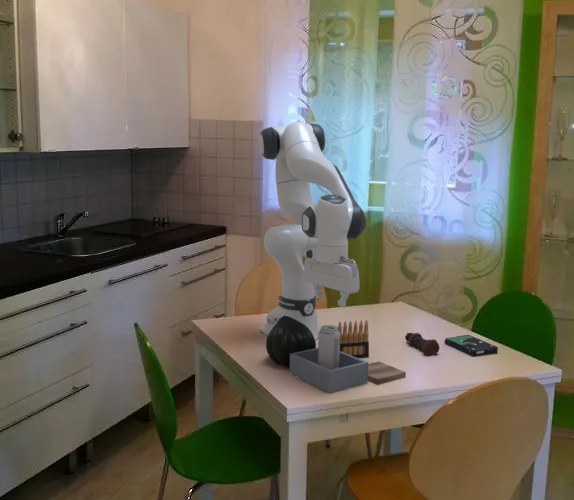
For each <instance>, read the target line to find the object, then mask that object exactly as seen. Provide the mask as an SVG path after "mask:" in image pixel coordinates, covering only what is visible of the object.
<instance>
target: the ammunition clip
mask: <svg viewBox="0 0 574 500" xmlns="http://www.w3.org/2000/svg"><path fill="white" fill-rule="evenodd" d="M353 323H354V324H353ZM337 327H338V331H339V332H340V350H339V351H341V352H344V353H346V354H349V355H351V356H354V357H356V358H359V359H367V358H370V341H369V336H370V335H369V323H368V320H367V319H366V320H365V322H364V324H363V321H362V320H360V322H359V326H358V321H357V320H355V321H354V322H352V320H350V321H349V323H348V324H347V321H346V320H345V321H344V323H343V326H342V322H341V321H339V322H338V326H337Z"/></svg>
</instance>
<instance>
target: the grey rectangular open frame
mask: <svg viewBox="0 0 574 500" xmlns="http://www.w3.org/2000/svg"><path fill="white" fill-rule="evenodd" d="M368 364H369V362H368V361H366V360H364V359H362V358H356V357H354V356H351V355H349V354H346V353H344V352H341V351H339V368H337V369H333V370H329V369H327V368H324V367H322V366H320V365H318V347H316V348H315V349H310V350H306V351H301V352H296V353H292V354H290V365H289V374H290V373H291V374H293V375H294V376H293V375H292V376H293V377H295V376H297V377H299V378H300V380H301V379H303V380H304V382H305V381H306V383H307V382H308V383H307V384H309V383H310V384H309V385H311V384H312V386H313V385H314V387H315V386H316V388H317V387H318V388H317V389H320V390H322V391H323V392H325V393H328V394H331V393H335V392H339V391H342V390H347V389H350V388H353V387H358V386H362V385H365V384H368V383H369V382H368ZM291 374H290V375H291ZM297 377H296V378H297ZM299 378H298V379H299ZM303 380H302V381H303Z"/></svg>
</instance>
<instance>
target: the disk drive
mask: <svg viewBox="0 0 574 500" xmlns="http://www.w3.org/2000/svg"><path fill="white" fill-rule="evenodd" d="M444 345H446V346H448V347H450V348H452V349H454V348H455V350H456V351H459V352H461V353H463V354H465V355H467V356H470V357H472V358H474V357H482V356H483V357H484V356H489V355H496V354H498V350H499V349H498V348H499V347H498V346H497V345H494V344H492V343H489V342H487V341H484V340H482V339H480V338H477V337H475V336H473V335H470V334H464V335H457V336H452V337H445V339H444Z"/></svg>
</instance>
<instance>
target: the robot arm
mask: <svg viewBox="0 0 574 500" xmlns="http://www.w3.org/2000/svg"><path fill="white" fill-rule="evenodd" d="M326 140H327V137H326V134H325V131H324V129H323V127H322V126H321V125H320V124H316V123H313V122H310V123H309V124H308V123H307V122H304V121H294V122H292V123H290V124H287V125H285V124H284V125H278V126H274V127H273V126H270V127H267V128H263V129H262V130H261V132H260V133H259V138H258V149H259V151H260V153H261V156H262V157H263V158H265V160H272V161H275V172H274V173H275V176H274V177H275V185H276V194H277V201H278V207H279V208H280V210H281V211H282V212H283V213H285V214H288V215H289V216H290V217H291V219H292V221H293V222H294V223H292V224H291V223H290V224H289V223H288V224H280V225H277V226H273V227H270V228H268V229H267V231H266V232H265V234H264V237H263V245H264V249H265V252H267V254H268V255H269V256H270V257H272V258H273V259H274V260H275V262H276V263H277V265H278V266H279V269H280V272H281V273H280V274H281V282H282V283H281V284H282V288H281V289H282V290H281V291H282V294H281V295H278V296H277V300H279V302H278V305H277V306H276V307H275V308H274V309H272V310H270V311H269V312H268V313H267V315H266V321H265V323H266V324H263V325H261V326H260V327H259V331H260V332H261V333H264V335H266V336H268V334H269V332H270V331H271V330H272V328H273V327H274V326H275V325H276V323H277V322H278V320H279V319H280V318H281V317H282V316H283V315H285V316H289V317H291V318H293V319H296V320H297V321H299V322H301V323H303V324H304V325H305V326H307V327H308V328H309V330H310V331H311V332H312V334H313V336H314V339H315V340H317V339H319V331H320V330H321V329H319V327H318V325H319V324H318V323H319V322H318V313H317V310H316V307H317V305H316V304H317V301H319V302H320V301H324V300H325V294H324V293H323V290H322V287H323V288H327V289H331V290H334V291H338V292H339V295H340V299H338V300H337V307H339V308H345V307H346V305H347V300H348V298H349V296H350V295H351V294H355V293H358V292H359V290H360V287H361V286H360V273H359V268H358V267H359V266H358V264H357V263H356V261H355V259H354V258H349V241H348V240H356V239H357V238H358V237H359V236H361V235H362V233H363V232H364V230H365V229H366V226H367V223H366V222H367V219H366V215H365V212H364V210H363V209H362V208H361V206H360V205H359V203H358V202H357V200H356V199H355V197H354V196H353V194H352V191H351V189H350V187H349V186H348V184H347V181H346V180H345V179H344V176H343V174H342V172H341V171H340V170H339V168H338V166H336V165H335V164H334V163H333V162H331V161H330V160H329V159H328V157H326V156H325V155H324V153H323V151H324V150H325V147H326V146H325V145H326ZM310 184H314V185H318V186H321V187H323V188H324V189H327V190H328V191H329V192H330V193H331V194H325V195H322V196H320V197H319V198H318V202H317V203H316V204H315V203H314V204H313V199H312V195H311V188H310ZM303 257H305V260H304V262H303ZM303 263H304V264H303Z"/></svg>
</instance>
